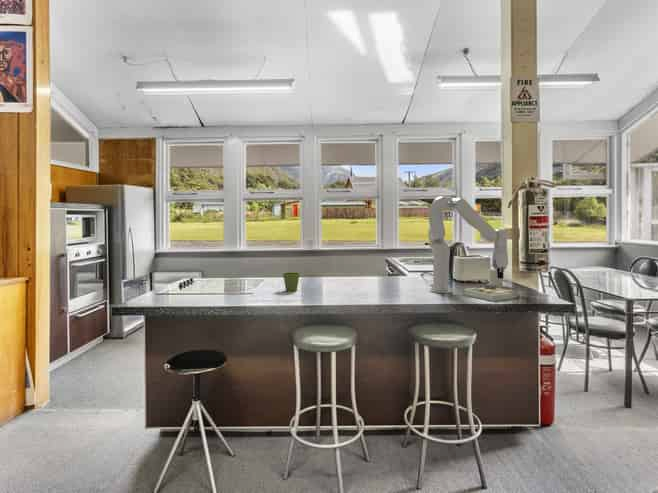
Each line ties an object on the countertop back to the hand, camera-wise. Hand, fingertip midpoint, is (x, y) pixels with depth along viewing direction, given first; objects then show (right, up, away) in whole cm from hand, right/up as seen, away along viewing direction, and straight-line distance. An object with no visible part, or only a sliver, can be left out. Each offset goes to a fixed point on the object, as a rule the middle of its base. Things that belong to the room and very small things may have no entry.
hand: (500, 278), depth 256 cm
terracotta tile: (-13, -8, -21) cm, 26 cm away
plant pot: (-132, -9, +10) cm, 132 cm away
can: (+6, -7, +22) cm, 24 cm away
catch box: (-16, -10, -14) cm, 24 cm away
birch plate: (-6, -10, -9) cm, 15 cm away
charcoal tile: (-8, -6, -3) cm, 10 cm away
